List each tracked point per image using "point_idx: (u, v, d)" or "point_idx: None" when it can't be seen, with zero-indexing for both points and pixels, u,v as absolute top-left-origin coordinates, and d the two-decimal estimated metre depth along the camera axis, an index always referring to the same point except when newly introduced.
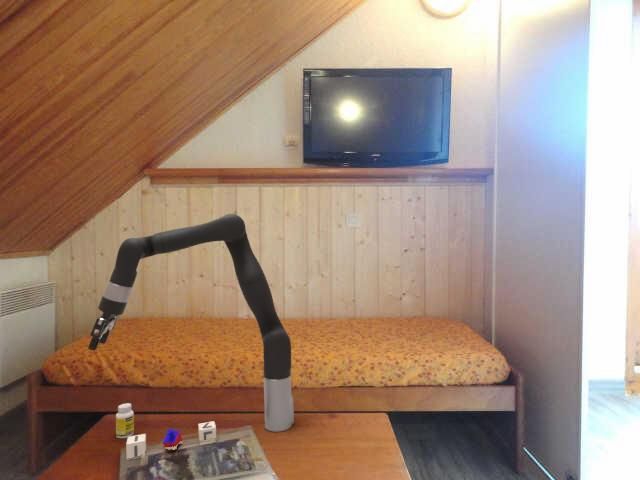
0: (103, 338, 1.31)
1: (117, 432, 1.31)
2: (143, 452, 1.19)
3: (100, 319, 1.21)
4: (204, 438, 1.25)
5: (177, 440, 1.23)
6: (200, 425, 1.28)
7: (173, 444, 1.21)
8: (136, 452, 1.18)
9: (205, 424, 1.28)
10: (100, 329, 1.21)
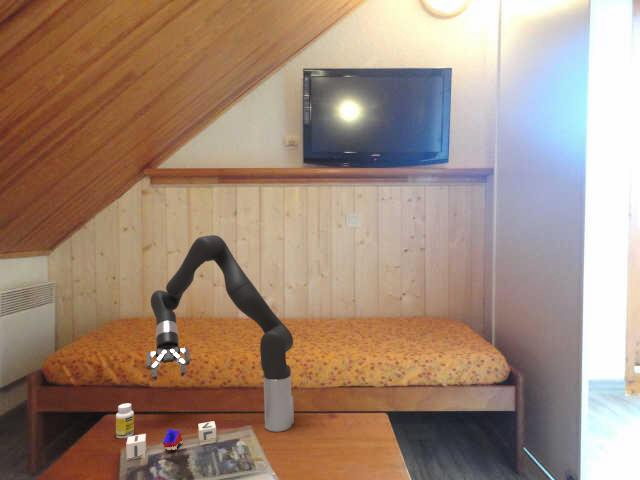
0: (181, 371, 1.39)
1: (117, 432, 1.31)
2: (143, 452, 1.19)
3: None
4: (204, 438, 1.25)
5: (177, 440, 1.23)
6: (200, 425, 1.28)
7: (173, 444, 1.21)
8: (136, 452, 1.18)
9: (205, 424, 1.28)
10: None
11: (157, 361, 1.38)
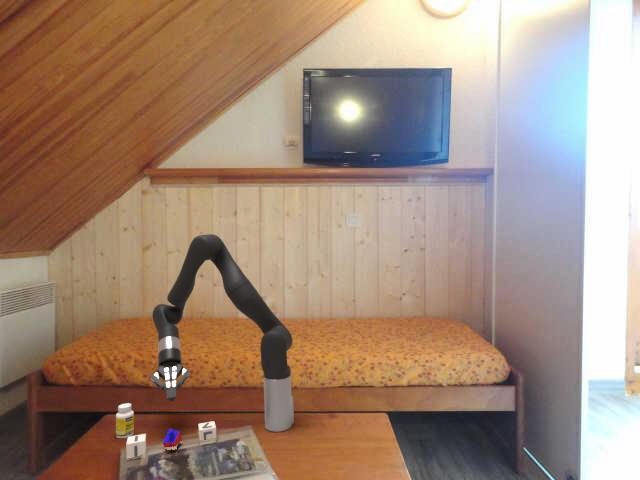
0: (171, 395, 1.30)
1: (117, 432, 1.31)
2: (143, 452, 1.19)
3: None
4: (204, 438, 1.25)
5: (177, 440, 1.23)
6: (200, 425, 1.28)
7: (173, 444, 1.21)
8: (136, 452, 1.18)
9: (205, 424, 1.28)
10: (156, 382, 1.31)
11: (168, 380, 1.32)
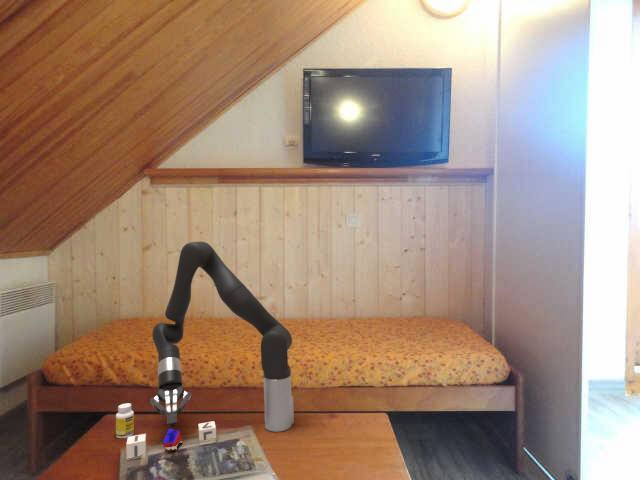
0: None
1: (117, 432, 1.31)
2: (143, 452, 1.19)
3: None
4: (204, 438, 1.25)
5: (177, 440, 1.23)
6: (200, 425, 1.28)
7: (173, 444, 1.21)
8: (136, 452, 1.18)
9: (205, 424, 1.28)
10: (156, 406, 1.26)
11: (168, 404, 1.27)
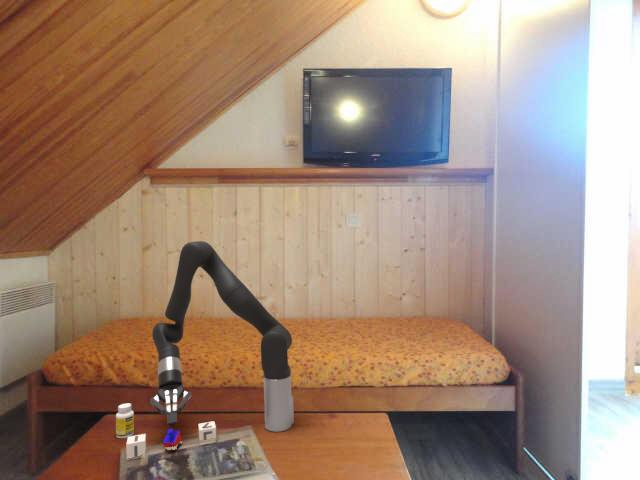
0: None
1: (117, 432, 1.31)
2: (143, 452, 1.19)
3: None
4: (204, 438, 1.25)
5: (177, 440, 1.23)
6: (200, 425, 1.28)
7: (173, 444, 1.21)
8: (136, 452, 1.18)
9: (205, 424, 1.28)
10: (156, 406, 1.26)
11: (168, 404, 1.27)
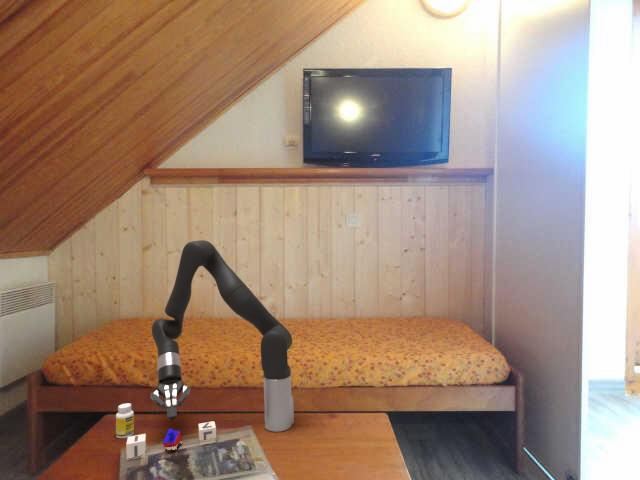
0: None
1: (117, 432, 1.31)
2: (143, 452, 1.19)
3: None
4: (204, 438, 1.25)
5: (177, 440, 1.23)
6: (200, 425, 1.28)
7: (173, 444, 1.21)
8: (136, 452, 1.18)
9: (205, 424, 1.28)
10: (156, 400, 1.28)
11: (168, 399, 1.29)
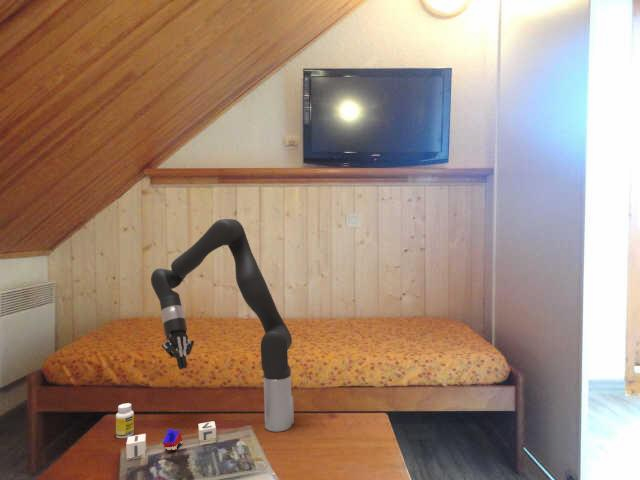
0: None
1: (117, 432, 1.31)
2: (143, 452, 1.19)
3: (163, 345, 1.35)
4: (204, 438, 1.25)
5: (177, 440, 1.23)
6: (200, 425, 1.28)
7: (173, 444, 1.21)
8: (136, 452, 1.18)
9: (205, 424, 1.28)
10: (171, 350, 1.35)
11: (180, 349, 1.38)
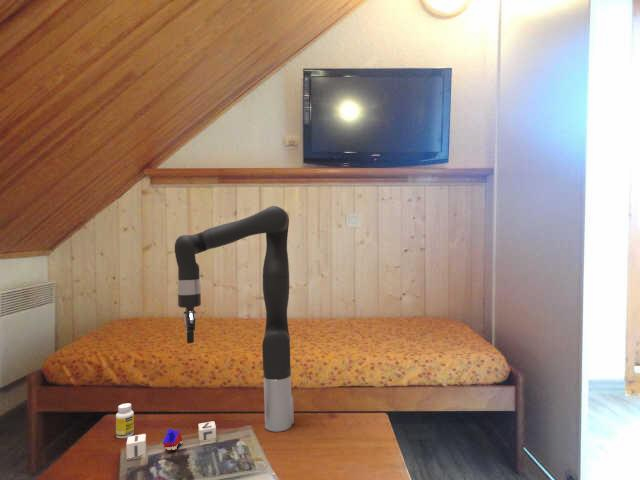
0: None
1: (117, 432, 1.31)
2: (143, 452, 1.19)
3: (190, 320, 1.33)
4: (204, 438, 1.25)
5: (177, 440, 1.23)
6: (200, 425, 1.28)
7: (173, 444, 1.21)
8: (136, 452, 1.18)
9: (205, 424, 1.28)
10: (193, 326, 1.35)
11: None
